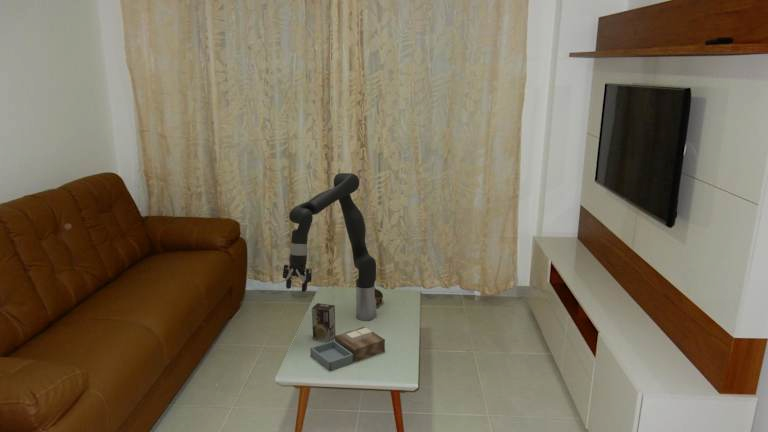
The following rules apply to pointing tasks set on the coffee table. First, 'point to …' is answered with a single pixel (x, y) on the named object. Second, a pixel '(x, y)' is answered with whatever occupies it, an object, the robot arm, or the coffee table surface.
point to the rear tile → (365, 333)
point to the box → (332, 355)
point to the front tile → (353, 336)
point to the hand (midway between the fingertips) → (296, 289)
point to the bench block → (362, 345)
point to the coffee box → (323, 322)
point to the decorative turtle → (378, 296)
